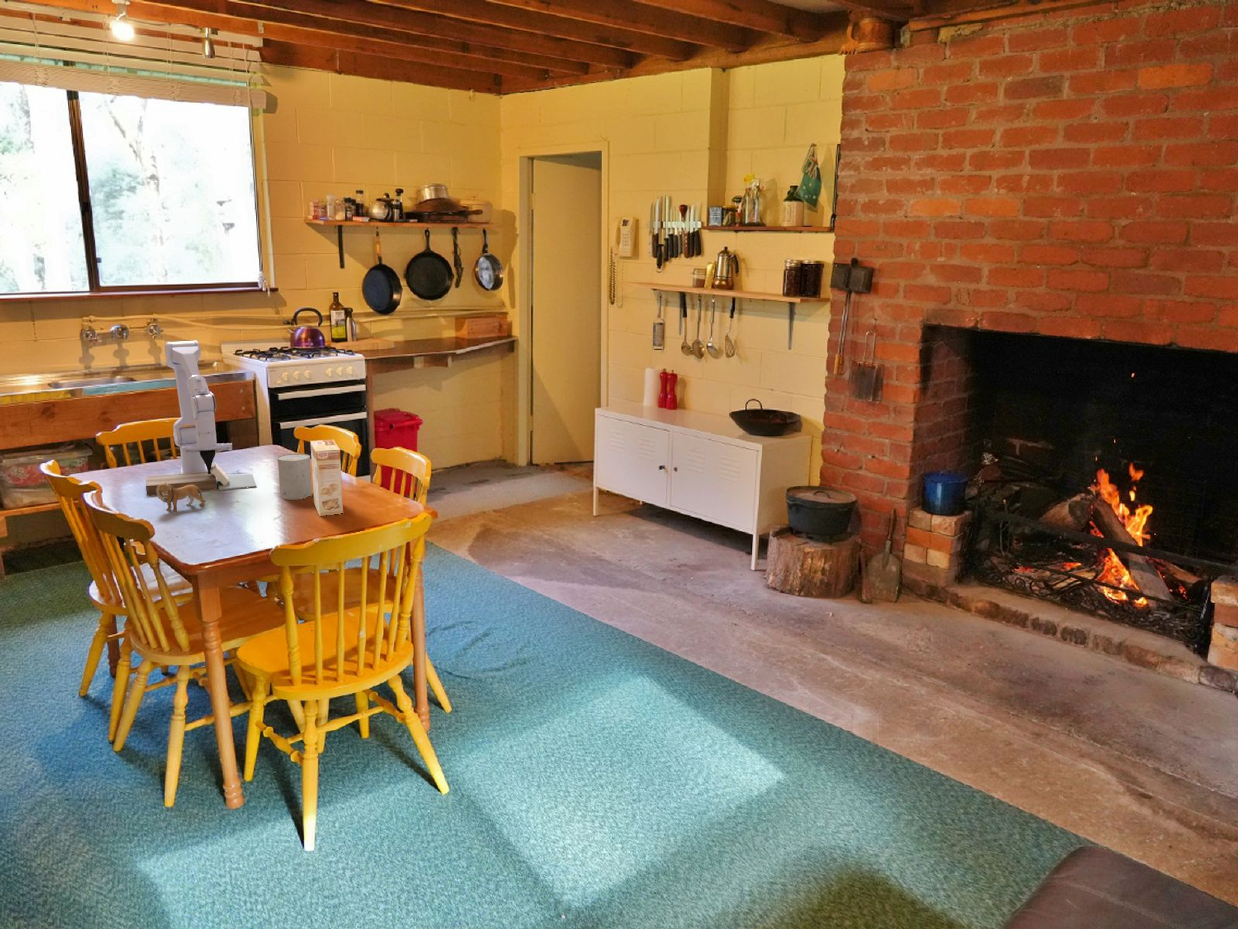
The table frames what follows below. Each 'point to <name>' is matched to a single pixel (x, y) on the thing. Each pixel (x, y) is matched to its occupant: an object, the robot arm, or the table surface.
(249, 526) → the table surface
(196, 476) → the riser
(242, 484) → the mat
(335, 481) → the coffeecake box
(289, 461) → the grey cylinder
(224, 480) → the tile
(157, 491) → the lion figurine
